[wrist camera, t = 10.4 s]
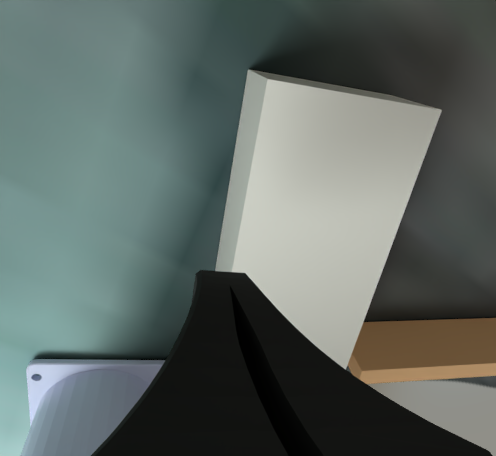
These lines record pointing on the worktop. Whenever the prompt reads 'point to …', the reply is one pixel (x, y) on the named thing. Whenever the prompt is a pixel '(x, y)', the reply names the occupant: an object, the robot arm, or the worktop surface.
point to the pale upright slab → (320, 198)
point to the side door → (424, 350)
